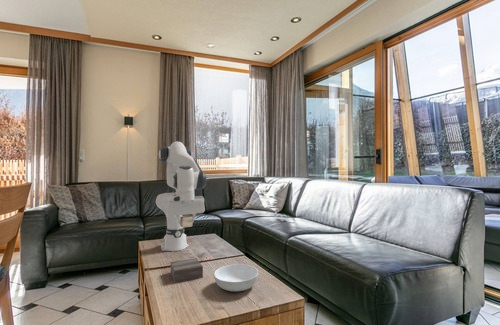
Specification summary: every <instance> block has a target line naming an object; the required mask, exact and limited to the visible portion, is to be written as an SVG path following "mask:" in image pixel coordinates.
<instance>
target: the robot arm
mask: <svg viewBox="0 0 500 325" xmlns="http://www.w3.org/2000/svg"><path fill="white" fill-rule="evenodd" d="M158 157H159V160H160V162H162V163H167V165H166V184H167V186H168V187H170V188H172V189H174V190H175V192H164V193H160V194H158V195H157V196H156V199H155V204H156V205H155V206H157V208H159V209H160V210H161V211H162V212H163V214H164V215H165V217H166V230H165V231H166V232H165V233H166V234H165V235H164V237H163V238H161V243H160V249H161V251H162V252H165V251H166V252H176V251H182V250H185V249H186V248H188V247H189V246H190V245H189V244H188V242H187V234H185V227H184V228H183V227H181V226H180V224H182V220H180V216H188V215H191V216H192V223H194V222H195V218H196V217H197V214H203V213H204V212H205V211H206V208H205V197H204V196H202V195H195V190H203V189H204V188H205V187H206V186H207V184H208V179H207V178H208V177H207V175H206V174H205V172H204V171H203V170H202V169H201V168H202V167H201V166H200V165H199V163H198V161H197V160H196V159H195V157H193V151H192V148H191V147H189V146H185V145H184V143H183V142H181V141H174V142H172V143H171V144H170V145H169V146H163V147H161V148H160V149H159V151H158Z"/></svg>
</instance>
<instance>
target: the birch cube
mask: <svg viewBox="0 0 500 325" xmlns="http://www.w3.org/2000/svg"><path fill="white" fill-rule="evenodd" d="M192 216H193V215H182V216H180V220H182V224H180V226H181V227H183V228H184V229H185V228H191V227H193V222H192Z"/></svg>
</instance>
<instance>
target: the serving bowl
mask: <svg viewBox="0 0 500 325" xmlns="http://www.w3.org/2000/svg"><path fill="white" fill-rule="evenodd" d="M213 277H214V281H215V283H216V284H217V286H218V287H219V288H221V289H223V290H225V291H229V292H242V291H246V290H248V289H250V288H252V287H253V286H254V285H255V284H256V283H257V281H258V278H259V270H258V268H256V267H254V266H252V265H249V264H244V263H243V264H242V263H235V264H228V265H223V266H221V267H219V268H217V269H216V270H215V271H214V273H213Z"/></svg>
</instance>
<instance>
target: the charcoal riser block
mask: <svg viewBox="0 0 500 325" xmlns="http://www.w3.org/2000/svg"><path fill="white" fill-rule="evenodd" d="M203 271H204V266H203V265H202V264H201V263H200V261H199V260H198V258H197V257H196V258H189V259H183V260H176V261H170V275H171V277H172V279H173V282H174V283H175V284H176V283H182V282H186V281H193V280H198V279H203V277H204V272H203Z"/></svg>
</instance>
